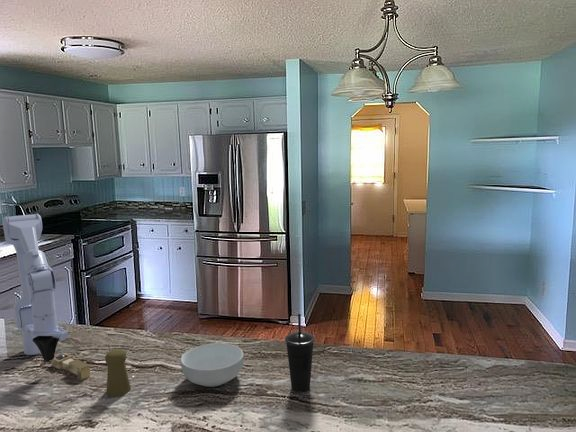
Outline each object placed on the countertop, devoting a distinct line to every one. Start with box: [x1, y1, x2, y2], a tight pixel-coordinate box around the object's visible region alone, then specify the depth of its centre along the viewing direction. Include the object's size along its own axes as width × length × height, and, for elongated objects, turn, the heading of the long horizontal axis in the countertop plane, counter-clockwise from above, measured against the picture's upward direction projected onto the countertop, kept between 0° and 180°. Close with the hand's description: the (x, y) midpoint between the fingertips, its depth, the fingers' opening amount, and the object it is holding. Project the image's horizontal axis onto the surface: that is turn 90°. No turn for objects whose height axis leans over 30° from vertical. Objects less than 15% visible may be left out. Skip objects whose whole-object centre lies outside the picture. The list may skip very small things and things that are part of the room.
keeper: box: [69, 359, 91, 381], centre depth 123 cm, size 7×2×4 cm, turn 52°
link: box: [50, 352, 78, 376], centre depth 127 cm, size 12×4×2 cm, turn 57°
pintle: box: [57, 353, 65, 360], centre depth 129 cm, size 2×2×4 cm
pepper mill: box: [104, 348, 132, 398], centre depth 115 cm, size 6×6×11 cm
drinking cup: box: [284, 313, 316, 393], centre depth 114 cm, size 8×8×20 cm
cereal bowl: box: [180, 342, 245, 388], centre depth 120 cm, size 17×17×7 cm
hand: (49, 359), depth 123 cm, fingers closed
